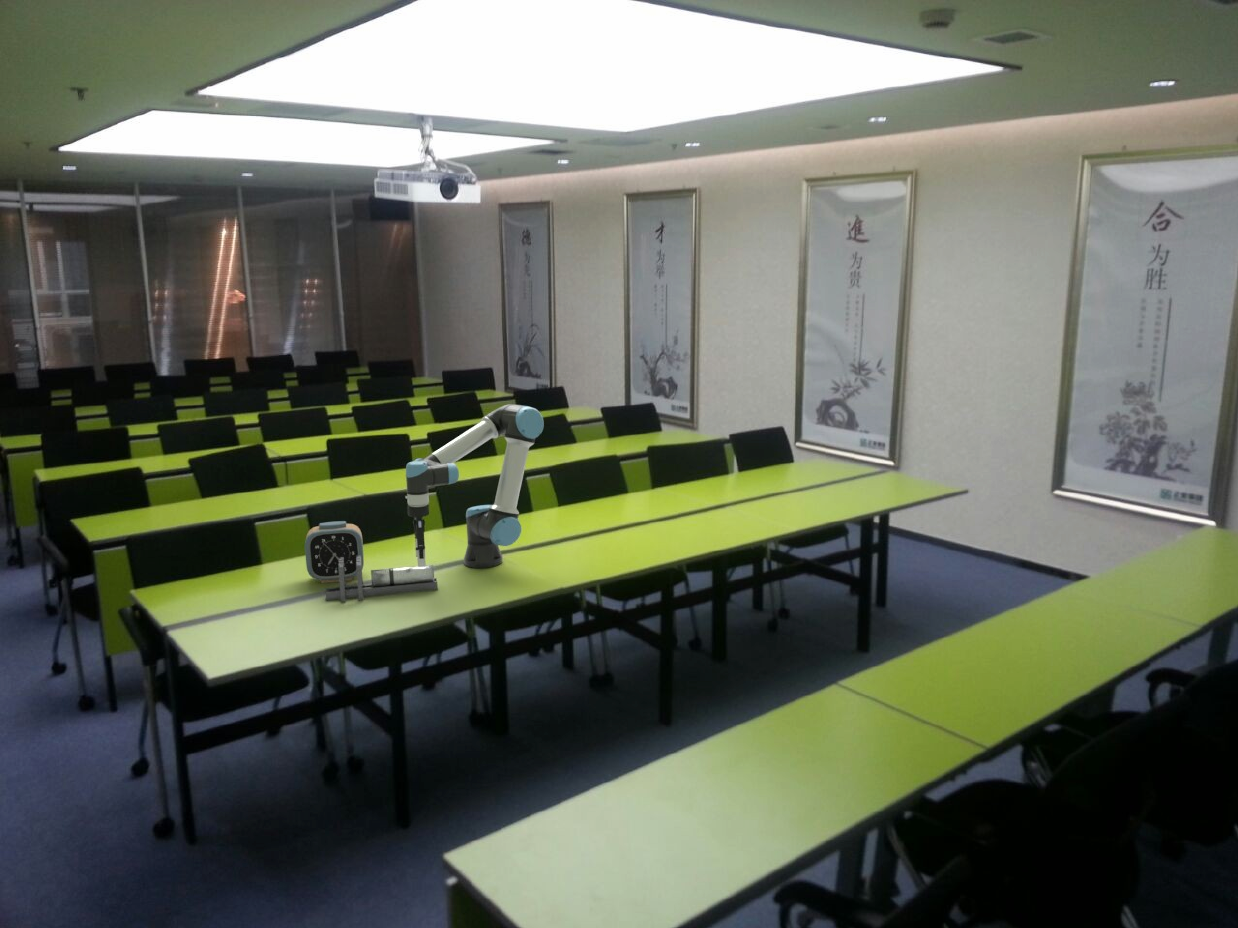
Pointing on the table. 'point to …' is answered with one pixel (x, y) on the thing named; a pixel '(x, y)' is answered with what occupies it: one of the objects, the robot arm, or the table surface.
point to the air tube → (402, 575)
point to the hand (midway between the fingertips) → (420, 561)
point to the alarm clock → (333, 550)
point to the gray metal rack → (368, 590)
